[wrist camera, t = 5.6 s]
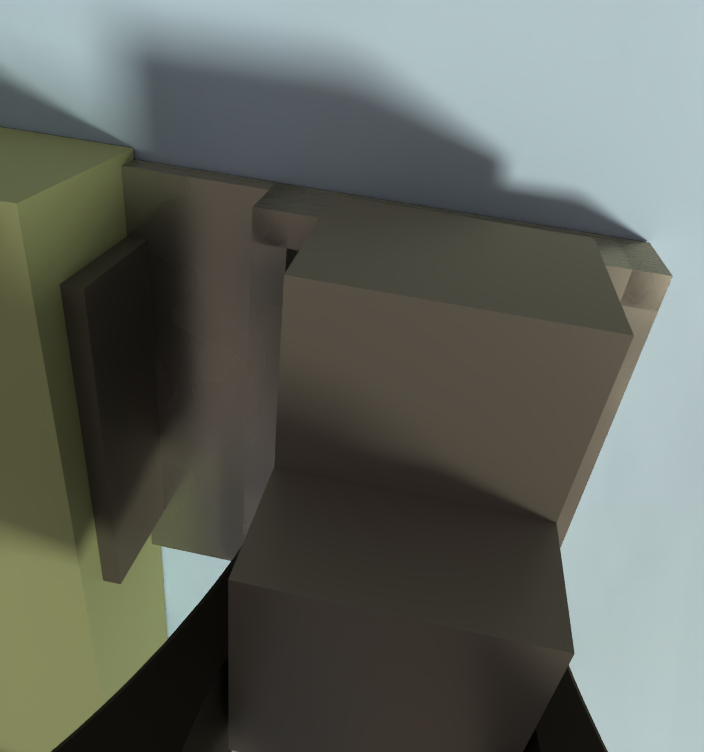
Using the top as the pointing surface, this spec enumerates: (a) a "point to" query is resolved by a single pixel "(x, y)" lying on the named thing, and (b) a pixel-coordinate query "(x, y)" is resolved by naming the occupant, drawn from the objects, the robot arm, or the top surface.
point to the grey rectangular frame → (271, 335)
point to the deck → (73, 440)
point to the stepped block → (419, 485)
